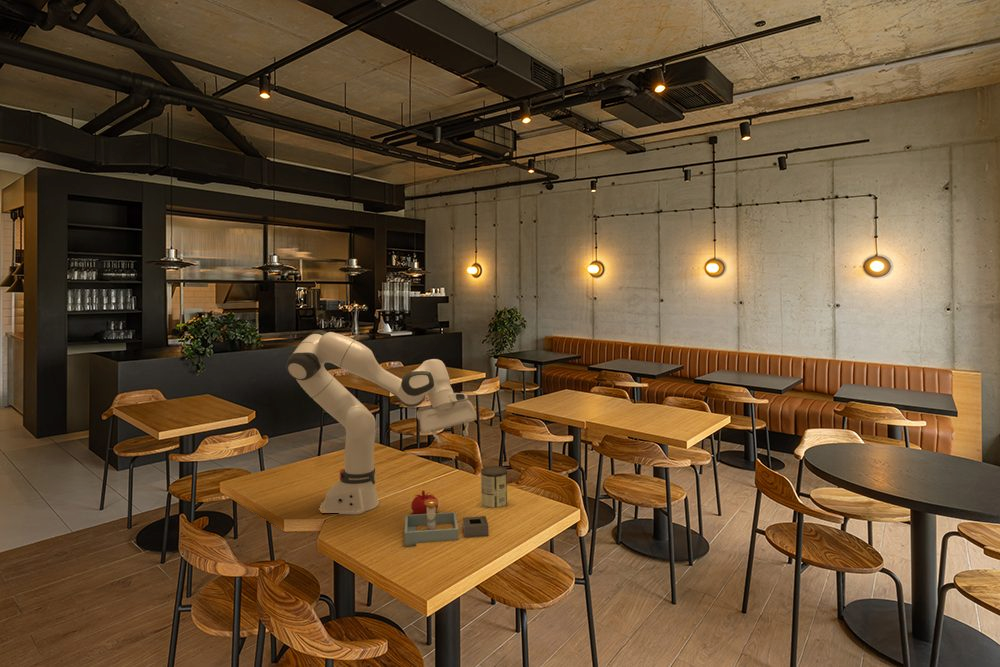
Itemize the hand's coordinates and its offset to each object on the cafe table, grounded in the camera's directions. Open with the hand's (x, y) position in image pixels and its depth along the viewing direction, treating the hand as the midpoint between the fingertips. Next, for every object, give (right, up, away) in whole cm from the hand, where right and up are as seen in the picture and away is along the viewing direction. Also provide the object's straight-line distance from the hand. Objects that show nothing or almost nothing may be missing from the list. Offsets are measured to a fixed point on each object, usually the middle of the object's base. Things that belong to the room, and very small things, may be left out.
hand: (453, 439), depth 188 cm
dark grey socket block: (+8, -32, -5) cm, 33 cm away
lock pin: (-7, -31, -5) cm, 32 cm away
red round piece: (-12, -31, +12) cm, 35 cm away
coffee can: (+14, -30, +21) cm, 40 cm away
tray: (-7, -32, -5) cm, 33 cm away
